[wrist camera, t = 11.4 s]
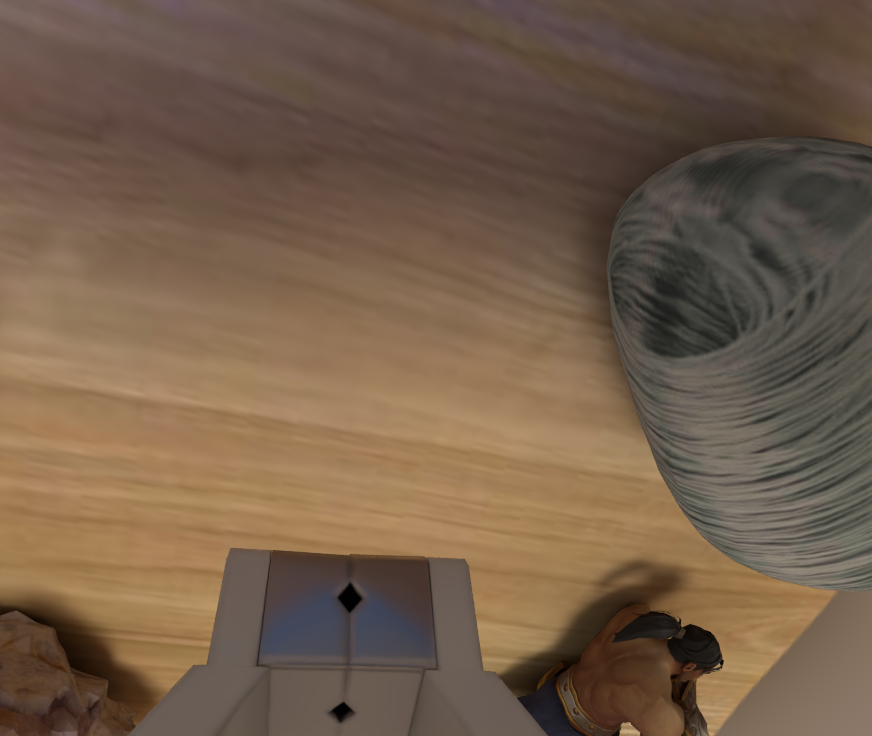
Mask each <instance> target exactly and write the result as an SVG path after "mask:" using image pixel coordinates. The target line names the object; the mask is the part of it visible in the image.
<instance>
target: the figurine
mask: <svg viewBox="0 0 872 736" xmlns="http://www.w3.org/2000/svg"><path fill="white" fill-rule="evenodd" d="M663 612H665V611H663ZM667 613H669V612H667ZM669 614H670V613H669ZM671 615H672V614H671ZM674 618H675V617H674ZM674 618H673V617H671V616H669V615H667V614H665V613H659V612H656V611H651V610H650V608H649V607H647V606H645V605H642V604H634V605H631V606H628V607H626V608H624V609H622V610H621V611H619V612H617V613H616V614H615V615H614V616H613V617H612V619H611V620H610V621H609V623H608V624H607V625H606V627H605V628H604V629H603V630H602V631H601V632H600V633H599V634H598V635H597V636H596V637H595V638H594V639H593V640H592V641H591V643H590V644H589V645H588V646H587V648H586V649H585V650H584V652H583V653H582V657H581V661H580V662H578V663H576V664H574V665H571V664H568V663H565V662H560V663H559V664H558V665H557V666H554V667H553V668H551V669H550V670H549V671H548V672H547V673H546V674H545V675H544V677H543V678H542V679H541V681H540V682H539V684H538V687H537V691H535V692H534V693H533V694H530V695H526V696H522V697H519V698H517V699H518V700H519V701H520V703H521V704H522V705H523V706H524V708H525V709H526V710H527V711H528V712H529V714H530V715H531V716H532V717H533V718H534V720H535V721H536V722H537V723H538V724H539V726H540V727H541V728H542V729H543V731H544V732H545V733H546V734H547V735H548V736H619V734H620V730H621V723H626V722H630V723H631V724H632V725H633V726H634V727H635V728H636V729H637V730H638V731H639V732H640V736H709V734H708V731H707V723H706V721H705V719H704V717H703V715H702V714H701V712H700V711H699V709H698V706H697V704H696V681H697V678H699V677H700V676H702V675H703V674H710V672H711V671H712V672H715V671H713V670H718V671H719V669H720V668H721V669H722V665H723V662H724V660H723V659H722V653H721V651H720V646H719V643H718V642H717V640H716V638H715V636H714V635H713V634H712V633H711V632H709V631H706V630H704V629H702V628H701V627H698V626H695V625H692V624H689V625H687V626H685V627H681V619H680V618H679V619H680V620H679V623H678V622H677V620H676V619H674ZM672 636H673V637H672ZM670 637H672V638H671V639H667V638H670ZM719 663H720V665H721V666H720V667H718V668H715V669H713V668H714V667H715V666H717V665H718V664H719ZM721 669H720V670H721Z"/></svg>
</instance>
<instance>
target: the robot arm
mask: <svg viewBox="0 0 872 736" xmlns="http://www.w3.org/2000/svg"><path fill="white" fill-rule="evenodd" d="M128 736H548V735H547V734H546V733H545V732H544V731H543V729H542V728H541V727H540V726H539V724H538V723H537V722H536V721H535V720H534V718H533V717H532V716H531V715H530V714H529V712H528V711H527V710H526V709H525V708H524V706H523V705H522V704H521V703H520V701H519V700H518V699H517V698H516V697H515V695H514V694H513V693H512V692H511V691H510V689H509V688H508V687H507V686H506V685H505V683H504V682H503V681H502V680H501V678H500V677H499V676H498V675H497V674H496V672H489V671H483V664H482V657H481V650H480V643H479V636H478V629H477V622H476V615H475V608H474V601H473V594H472V587H471V580H470V573H469V566H468V564H467V562H466V561H465V559H455V558H432V557H427V558H425V557H423V556H391V555H360V554H350V555H336V554H322V553H308V552H293V551H279V550H258V549H242V548H231V549H230V552H229V554H228V557H227V559H226V564H225V570H224V575H223V580H222V585H221V591H220V596H219V601H218V607H217V612H216V617H215V623H214V628H213V633H212V639H211V644H210V649H209V655H208V660H207V665H193V666H192V667H191V668H190V669H189V671H188V672H187V673H186V674H185V675H184V676H183V677H182V678H181V679H180V680H179V681H178V682H177V683H176V684H175V685H174V687H173V688H172V689H171V690H170V691H169V692H168V693H167V694H166V695H165V696H164V697H163V698H162V699H161V700H160V701H159V703H158V704H157V705H156V706H155V707H154V708H153V709H152V710H151V711H150V712H149V713H148V714H147V715H146V716H145V717H144V718H143V720H142V721H141V722H140V723H139V724H138V725H137V726H136V727H135V728H134V729H133V730H132V731H131V732H130V733H129V734H128Z"/></svg>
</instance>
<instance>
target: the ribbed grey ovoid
mask: <svg viewBox="0 0 872 736" xmlns="http://www.w3.org/2000/svg"><path fill="white" fill-rule="evenodd" d="M607 277H608V290H609V305H610V312H611V319H612V326H613V332H614V336H615V341H616V345H617V348H618V352H619V355H620V358H621V361H622V365H623V368H624V371H625V374H626V378H627V381H628V384H629V387H630V390H631V394H632V397H633V400H634V403H635V407H636V410H637V413H638V416H639V419H640V422H641V425H642V428H643V430H644V433H645V435H646V438H647V440H648V443H649V445H650V448H651V451H652V453H653V456H654V459H655V461H656V464H657V467H658V469H659V471H660V473H661V476H662V477H663V479H664V481H665V482H666V484H667V486H668V488H669V489H670V491H671V493H672V495H673V496H674V498H675V501H676V502H677V504H678V505H679V507H680V508H681V510H682V511H683V513H684V514H685V515H686V517H687V518H688V519H689V521H690V522H691V523H692V525H693V526H694V527H695V528H696V529H697V531H698V532H699V533H700V534H701V535H702V536H703V537H704V538H705V539H706V540H707V541H708V542H709V543H710V544H711V545H712V546H714V547H715V548H716V549H718V550H719V551H721V552H722V553H724V554H725V555H726V556H728V557H729V558H731V559H732V560H733V561H736V562H738V563H740V564H742V565H745V566H747V567H749V568H751V569H753V570H755V571H757V572H759V573H762V574H765V575H767V576H769V577H772V578H775V579H778V580H782V581H785V582H789V583H794V584H798V585H803V586H807V587H812V588H817V589H827V590H836V591H871V590H872V147H871V146H867V145H864V144H861V143H856V142H849V141H842V140H836V139H829V138H818V137H789V136H786V137H772V138H759V139H749V140H741V141H732V142H728V143H723V144H718V145H713V146H708V147H705V148H702V149H700V150H698V151H696V152H694V153H692V154H689V155H687V156H685V157H683V158H681V159H679V160H677V161H675V162H674V163H672V164H670V165H668V166H666V167H664V168H663V169H661V170H660V171H658V172H656V173H655V174H654V175H652V176H651V177H650V178H649V179H647V180H646V181H645V182H644V183H642V184H641V185H640V186H639V187H638V188H637V189H636V190H635V191H634V192H633V193H632V194H631V195H630V196H629V197H628V199H627V200H626V202H625V203H624V204H623V206H622V207H621V209H620V211H619V212H618V214H617V216H616V219H615V222H614V224H613V229H612V236H611V243H610V249H609V255H608V262H607Z"/></svg>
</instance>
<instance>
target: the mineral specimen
mask: <svg viewBox="0 0 872 736" xmlns="http://www.w3.org/2000/svg"><path fill="white" fill-rule="evenodd" d="M108 682H109V680H106V679H102V678H99V677H96V676H92V675H89V674H86V673H83V672H80V671H77V670H75V669H73V668H70V666H69V663H68V660H67V656H66V653H65V650H64V649H63V648H62V646H61V645H60V644H59V641H58V638H57V635H56V631H55V628H52V627H49V626H46V625H43V624H40V623H37V622H35V621H33V620H32V619H30V618H28V617H27V616H25V615H23V614H22V613H20V612H18V611H13V612H10V613H6V614H3V615H0V736H128V734H129V733H130V732H131V731H132V730H133V729H134V728H135V727H136V725H135V724H134V722H133V720H132V717H133V716H134V715H135V714H136V713H135V712H134V711H133V710H132V709H130V708H129V707H128V706H127V705H126V704H124V703H123V702H120V701H112V700H110V699H109V698H107V689H108Z"/></svg>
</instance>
